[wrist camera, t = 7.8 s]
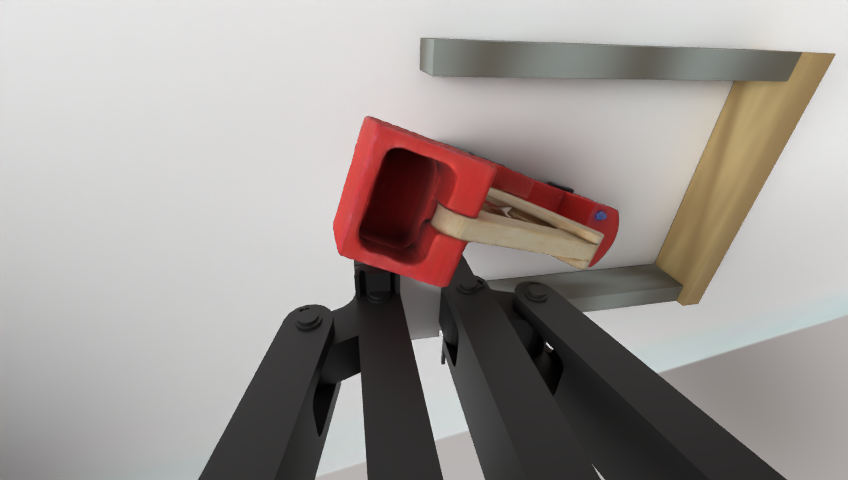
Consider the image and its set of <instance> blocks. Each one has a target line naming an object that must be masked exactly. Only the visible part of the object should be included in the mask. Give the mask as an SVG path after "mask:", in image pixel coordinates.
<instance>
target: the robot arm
mask: <svg viewBox="0 0 848 480" xmlns="http://www.w3.org/2000/svg"><path fill="white" fill-rule="evenodd" d="M354 269H355V275H354V279H355V291H356V293H355V296H354V298H353V300H352V301H351V302H350V303H349V304H347V305H346V306H344V307H342V308H339V309H337V310H334V311H330V309H328V308H326V307H325V306H321V305H316V304H315V305H305V306H302V307H299V308H297V309H295V310H294V311H292V312H290V313H289V314H288V316H287V317H286V318H285V319H284V321H283V323H282V325H281V327H280V329H279V330H278V332H277V334H276V336H275V338H274V340H273V342H272V343H271V345H270V347H269V349H268V351H267V353H266V355H265V356H264V358H263V360H262V362H261V364H260V366H259V368H258V369H257V371H256V373H255V375H254V377H253V379H252V381H251V382H250V384H249V386H248V388H247V390H246V392H245V394H244V396H243V397H242V399H241V401H240V403H239V405H238V407H237V409H236V410H235V412H234V414H233V416H232V418H231V420H230V422H229V423H228V425H227V427H226V429H225V431H224V433H223V435H222V436H221V438H220V440H219V442H218V444H217V446H216V448H215V449H214V451H213V453H212V455H211V457H210V459H209V461H208V463H207V464H206V466H205V468H204V470H203V472H202V474H201V476H200V477H199V479H198V480H315V476H316V472H317V469H318V465H319V462H320V458H321V454H322V451H323V447H324V444H325V440H326V437H327V433H328V429H329V426H330V422H331V419H332V415H333V411H334V408H335V404H336V401H337V397H338V393H339V390H340V386H341V381H342V380H344V379H347V378H349V377H351V376H353V375H356V374H358V373H360V372H361V382H362V398H363V413H364V429H365V444H366V460H367V475H368V480H443V476H442V472H441V468H440V464H439V459H438V455H437V451H436V446H435V442H434V438H433V433H432V429H431V425H430V420H429V416H428V412H427V407H426V403H425V399H424V394H423V390H422V386H421V381H420V377H419V373H418V368H417V364H416V360H415V355H414V351H413V347H412V342H411V340H413V339H421V338H429V337H437V336H439V328H440V327H441V330H442V333H443V344H442V356H441V363H442V364H445V357H446V359H447V362H448V366H449V369H450V372H451V375H452V378H453V381H454V384H455V387H456V390H457V394H458V397H459V400H460V403H461V406H462V409H463V412H464V415H465V418H466V422H467V425H468V428H469V431H470V434H471V437H472V440H473V443H474V446H475V449H476V453H477V455H478V459H479V462H480V465H481V468H482V471H483V474H484V478H485V480H601V479H600V478H599V476H598V474H597V472H596V470H595V469H594V467H595V468H596V469H597V470H598V472H600V474H601V475H602V476H603V477H604V479H605V480H786V479H785V478H784V477H783V476H782V475H780V474H779V473H778V472H777V471H775V470H774V469H773V468H772V467H770V466H769V465H768V464H767V463H766V462H764V461H763V460H762V459H760V457H758V456H757V455H756V454H755V453H753V452H752V451H751V450H750V449H749V448H747V447H746V446H745V445H743V444H742V443H741V442H740V441H739V440H737V439H736V438H735V437H734V436H733V435H731V434H730V433H729V432H728V431H726V430H725V429H724V428H723V427H722V426H720V425H719V424H718V423H717V422H715V421H714V420H713V419H712V418H710V417H709V416H708V415H707V414H706V413H704V412H703V411H702V410H701V409H700V408H698V407H697V406H696V405H694V404H693V403H692V402H691V401H690V400H688V399H687V398H686V397H685V396H684V395H682V394H681V393H680V392H678V391H677V390H676V389H675V388H674V387H673V386H671V385H670V384H669V383H668V382H666V381H665V380H664V379H663V378H662V377H660V376H659V375H658V374H657V373H655V372H654V371H653V370H652V369H651V368H649V367H648V366H647V365H646V364H644V363H643V362H642V361H641V360H639V359H638V358H637V357H636V356H635V355H633V354H632V353H631V352H630V351H628V350H627V349H626V348H625V347H624V346H622V345H621V344H620V343H619V342H617V341H616V340H615V339H614V338H613V337H611V336H610V335H609V334H608V333H606V332H605V331H604V330H603V329H602V328H600V327H599V326H598V325H597V324H595V323H594V322H593V321H592V320H590V319H589V318H588V317H587V316H586V315H584V314H583V313H582V312H581V311H579V310H578V309H577V308H576V307H575V306H573V305H572V304H571V303H570V302H568V301H567V300H566V299H565V298H564V297H562V296H561V295H560V294H559V293H557V292H556V291H555V290H554V289H552V288H551V287H549V286H548V285H546V284H543V283H540V282H536V281H525V282H521V283H519V284H517V286H516V287H515V290H514V292H506V291H498V290H493V289H491V288H490V287H489V285H488V284H487V283H486V281H485V280H484V279H482V278H480V277H478V276H475V275H473V273H472V271H471V269H470V267H469V265H468V264H467V262H466V260H465V258H464V256H463V254H462V256H461V259H460V261H459V263H458V266H457V268H456V270H455V273H454V275H453V277H452V279H451V282H450V284H449V285H448V286H447V287H438V286H434V285H429V284H427V283H424V282H420V281H417V280H415V279H412V278H409V277H406V276H402V275H399V274H396V273H393V272H389V271H387V270H384V269H381V268H377V267H373V266H370V265H367V264H365V263H362V262H358V261H356V260H354ZM546 342H547V343H548V344H549V345H550V346H551V347H552V348H553V350H552V349H550V348H549V347H548V346H547V345H546ZM592 464H593V465H592ZM593 466H594V467H593Z"/></svg>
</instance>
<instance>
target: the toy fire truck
mask: <svg viewBox="0 0 848 480" xmlns="http://www.w3.org/2000/svg"><path fill="white" fill-rule="evenodd" d="M573 192H574V190H573V189H571V188H569V187H565V186H562V185H560V184H557V183H553V182H549V183H548V184H545V183H542V182H539V181H537V180H534V179H532V178H529V177H527V176H525V175H522V174H520V173H518V172H515V171H512V170H510V169H508V168H506V167H504V166H503V165H501V164H498V163H495V162H492V161H489V160H487V159H484V158H480V157H476V156H475V155H474V154H472V153H470V152H467V151H464V150H461V149H458V148H455V147H452V146H450V145H447V144H443V143H440V142H438V141H435V140H432V139H429V138H427V137H424V136H422V135H419V134H417V133H415V132H411V131H408V130H406V129H403V128H400V127H399V126H395V125H392V124H390V123H388V122H384V121H382V120H379V119H377V118H374V117H370V116H366V117H365V118H364V121H363V124H362V127H361V130H360V133H359V137H358V140H357V144H356V146H355V152H354V155H353V159H352V163H351V166H350V169H349V172H348V175H347V178H346V182H345V185H344V189H343V192H342V196H341V199H340V203H339V206H338V210H337V213H336V216H335V219H334V222H333V230H334V236H335V241H336V244H337V249H338V252H339V254H340V255H341V256H345V257H347V258H349V259H353V260H356V261H358V262H362V263H365V264H367V265H370V266H373V267H377V268H381V269H384V270H387V271H389V272H393V273H396V274H399V275H402V276H406V277H409V278H412V279H415V280H417V281H420V282H424V283H427V284H429V285H434V286H438V287H447V286H448V285H449V284H450V282H451V279H452V277H453V275H454V273H455V270H456V268H457V266H458V263H459V261H460V259H461V256H462V253H463V251H464V249H465V247H466V245H467V244H468V243H469V242H478V243H484V244H490V245H497V246H502V247H508V248H514V249H519V250H526V251H531V252H538V253H543V254H547V255H551V256H553V257H555V258H557V259H559V260H561V261H563V262H566V263H568V264H570V265H572V266H574V267H576V268H579V269H582V270H586V269H587V267H592V266H593V265H595V264H596V263H597V262H598V261H599V260H600V259H601V258H602V257H603V256H604V255H605V253H606V252H607V251H608V250H609V248H610V247H611V245H612V244H613V242H614V240H615V238H616V235H617V231H618V226H619V213H618V211H617V210H616V209H613V208H611V207H609V206H606V205H604V204H601V203H598V202H595V201H593V200H591V199H588V198H585V197H582V196H580V195H577V194H574V193H573Z"/></svg>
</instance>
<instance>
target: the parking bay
mask: <svg viewBox="0 0 848 480" xmlns="http://www.w3.org/2000/svg"><path fill="white" fill-rule="evenodd" d="M834 56H835V54H830V53H811V52H793V51H774V50H749V49H721V48H693V47H664V46H636V45H608V44H579V43H551V42H523V41H494V40H466V39H438V38H421V45H420V70H422V71H424V72H425V73H427V74H429V75H431V76H451V77H519V78H588V79H656V80H724V81H735V82H734V84H733V86H732V89H731V91H730V93H729V95H728V98H727V100H726V102H725V105H724V107H723V109H722V111H721V114H720V116H719V118H718V121H717V123H716V125H715V127H714V130H713V132H712V134H711V137H710V139H709V141H708V143H707V146H706V148H705V150H704V152H703V155H702V157H701V159H700V162H699V164H698V166H697V168H696V171H695V173H694V175H693V178H692V180H691V182H690V184H689V187H688V189H687V191H686V194H685V196H684V198H683V200H682V203H681V205H680V207H679V210H678V212H677V214H676V216H675V219H674V221H673V223H672V225H671V228H670V230H669V232H668V235H667V237H666V239H665V241H664V244H663V246H662V248H661V251H660V253H659V255H658V257H657V260H656V262H655V264H651V265H641V266H631V267H621V268H611V269H601V270H590V271H580V272H570V273H560V274H550V275H540V276H530V277H520V278H510V279H500V280H490V281H486V283H487V284H488V285H489V287H490V288H491V289H493V290H498V291H506V292H514V290H515V287H516V286H517V284H519V283H521V282H525V281H536V282H540V283H543V284H546V285H548V286H549V287H551V288H552V289H554V290H555V291H556V292H557V293H559V294H560V295H561V296H562V297H564V298H565V299H566V300H567V301H568V302H570V303H571V304H572V305H573V306H575V307H576V308H577V309H578V310H579V311H581V312H589V311H597V310H605V309H613V308H621V307H629V306H637V305H645V304H653V303H661V302H670V301H677V302H679V303H680V304H681V305H682V306H684V305H692V304H698V303H699V301H700V299H701V298H702V296H703V294H704V292H705V290H706V288H707V287H708V285H709V283H710V281H711V279H712V278H713V276H714V274H715V272H716V270H717V268H718V267H719V265H720V263H721V261H722V259H723V258H724V256H725V254H726V252H727V250H728V249H729V247H730V245H731V243H732V241H733V239H734V238H735V236H736V234H737V232H738V230H739V229H740V227H741V225H742V223H743V221H744V219H745V218H746V216H747V214H748V212H749V210H750V209H751V207H752V205H753V203H754V201H755V200H756V198H757V196H758V194H759V192H760V190H761V189H762V187H763V185H764V183H765V181H766V180H767V178H768V176H769V174H770V172H771V171H772V169H773V167H774V165H775V163H776V161H777V160H778V158H779V156H780V154H781V152H782V151H783V149H784V147H785V145H786V143H787V141H788V140H789V138H790V136H791V134H792V132H793V131H794V129H795V127H796V125H797V123H798V122H799V120H800V118H801V116H802V114H803V112H804V111H805V109H806V107H807V105H808V103H809V102H810V100H811V98H812V96H813V94H814V92H815V91H816V89H817V87H818V85H819V83H820V82H821V80H822V78H823V76H824V74H825V73H826V71H827V69H828V67H829V65H830V63H831V62H832V60H833V58H834ZM439 330H441V327H440V328H439Z"/></svg>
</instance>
